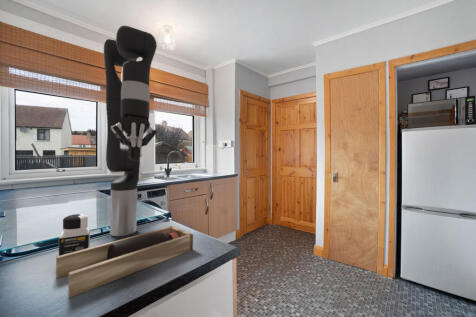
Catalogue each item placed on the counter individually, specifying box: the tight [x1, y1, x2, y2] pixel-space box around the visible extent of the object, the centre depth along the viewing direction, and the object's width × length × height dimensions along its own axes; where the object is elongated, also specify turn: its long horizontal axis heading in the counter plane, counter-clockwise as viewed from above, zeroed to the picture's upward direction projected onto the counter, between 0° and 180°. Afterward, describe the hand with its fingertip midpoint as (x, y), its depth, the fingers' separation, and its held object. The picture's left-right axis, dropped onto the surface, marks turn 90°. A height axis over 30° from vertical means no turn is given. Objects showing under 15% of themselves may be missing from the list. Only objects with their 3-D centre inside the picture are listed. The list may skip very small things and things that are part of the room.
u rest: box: [55, 225, 194, 298], centre depth 64 cm, size 12×33×5 cm, turn 140°
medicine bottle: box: [58, 213, 91, 256], centre depth 67 cm, size 7×7×12 cm
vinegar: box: [107, 232, 179, 260], centre depth 67 cm, size 7×7×20 cm
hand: (134, 160), depth 64 cm, fingers closed
